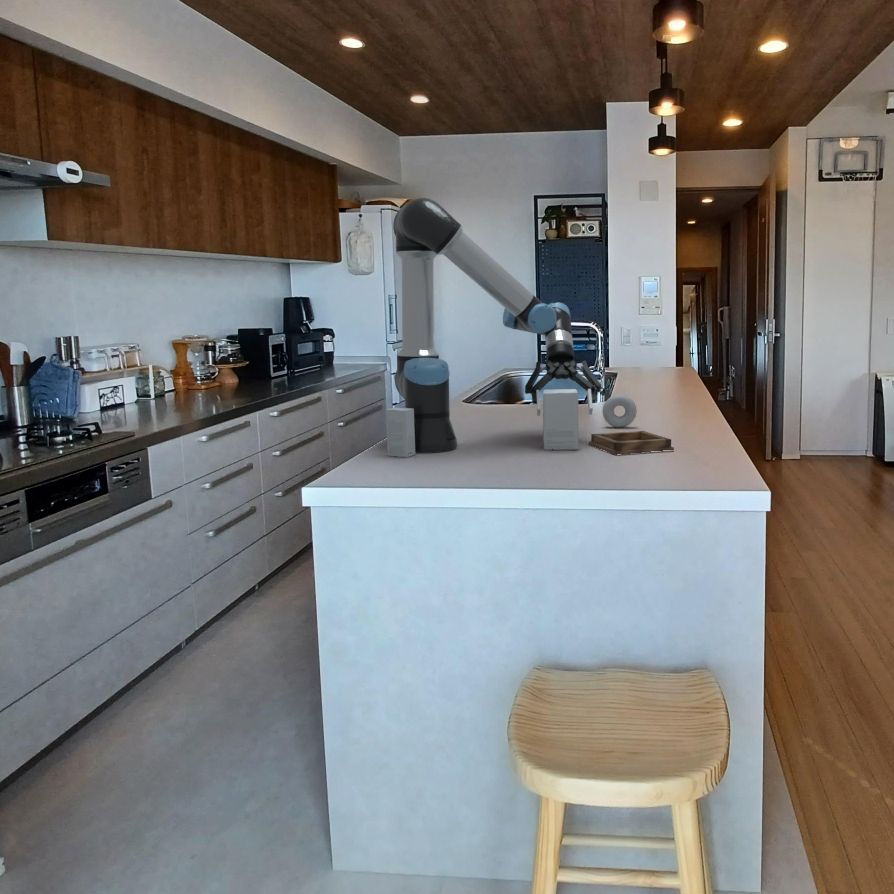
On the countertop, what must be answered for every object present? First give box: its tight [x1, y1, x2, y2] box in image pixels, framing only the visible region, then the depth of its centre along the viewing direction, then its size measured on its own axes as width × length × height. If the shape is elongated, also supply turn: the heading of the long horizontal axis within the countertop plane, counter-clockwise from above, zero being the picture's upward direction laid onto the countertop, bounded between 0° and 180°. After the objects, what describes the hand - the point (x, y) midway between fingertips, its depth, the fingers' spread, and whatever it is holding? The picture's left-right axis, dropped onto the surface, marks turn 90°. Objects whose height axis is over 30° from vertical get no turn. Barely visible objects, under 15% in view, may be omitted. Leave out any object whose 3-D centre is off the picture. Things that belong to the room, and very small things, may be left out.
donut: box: [602, 394, 638, 429], centre depth 256 cm, size 10×4×10 cm, turn 79°
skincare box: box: [385, 407, 416, 458], centre depth 217 cm, size 6×4×12 cm
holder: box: [588, 430, 675, 456], centre depth 222 cm, size 16×16×3 cm
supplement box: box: [542, 388, 579, 451], centre depth 225 cm, size 9×9×15 cm
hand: (564, 412), depth 226 cm, fingers open, 13 cm apart
